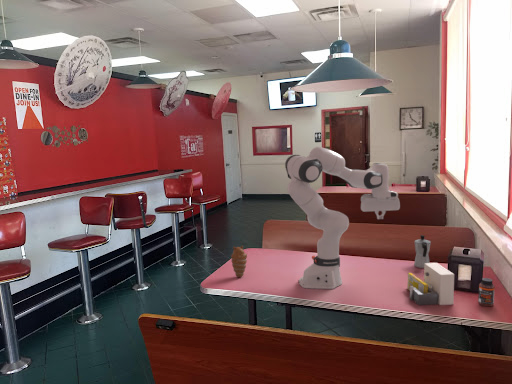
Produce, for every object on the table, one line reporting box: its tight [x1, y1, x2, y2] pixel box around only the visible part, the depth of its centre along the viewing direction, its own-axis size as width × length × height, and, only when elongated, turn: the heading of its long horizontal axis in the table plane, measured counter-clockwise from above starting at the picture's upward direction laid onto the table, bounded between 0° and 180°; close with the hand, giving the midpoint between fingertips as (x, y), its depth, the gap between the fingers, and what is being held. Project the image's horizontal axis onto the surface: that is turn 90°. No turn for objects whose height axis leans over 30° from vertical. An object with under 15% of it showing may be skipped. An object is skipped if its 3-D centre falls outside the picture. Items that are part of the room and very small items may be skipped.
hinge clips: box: [409, 285, 438, 306], centre depth 178 cm, size 11×8×6 cm
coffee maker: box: [413, 234, 432, 269], centre depth 223 cm, size 15×9×18 cm, turn 168°
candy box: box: [406, 272, 428, 293], centre depth 185 cm, size 16×2×8 cm, turn 4°
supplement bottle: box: [477, 277, 496, 307], centre depth 172 cm, size 6×6×11 cm
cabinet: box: [423, 262, 455, 306], centre depth 180 cm, size 7×16×14 cm, turn 1°
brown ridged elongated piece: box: [230, 245, 248, 278], centre depth 217 cm, size 9×8×18 cm
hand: (380, 218), depth 209 cm, fingers closed
